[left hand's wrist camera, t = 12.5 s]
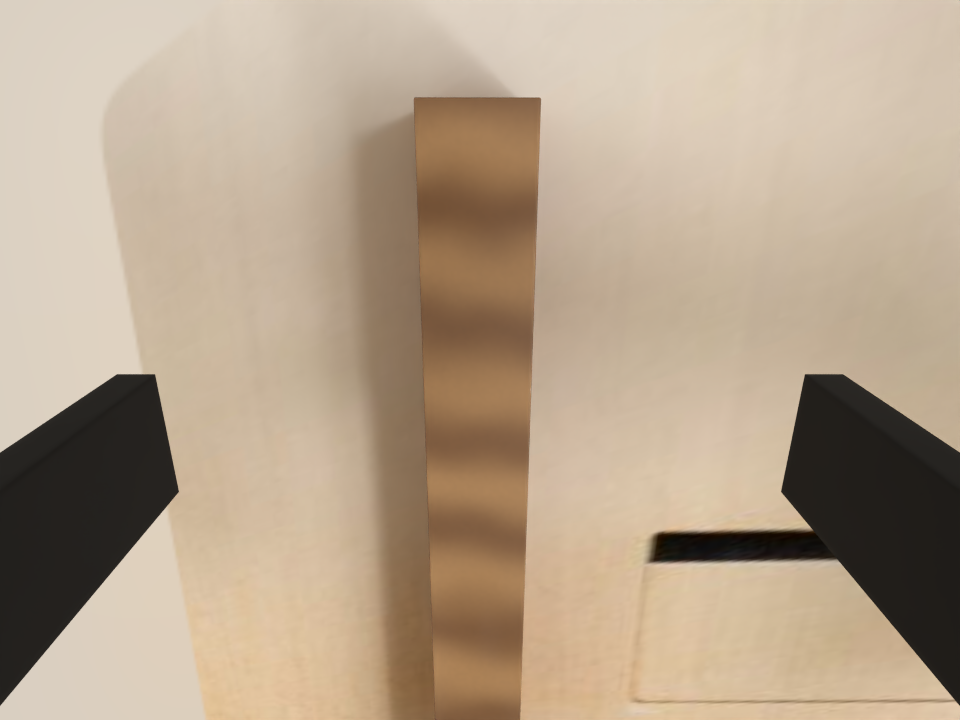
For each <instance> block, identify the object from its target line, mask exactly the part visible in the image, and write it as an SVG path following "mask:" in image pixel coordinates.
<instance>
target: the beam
mask: <svg viewBox="0 0 960 720" xmlns="http://www.w3.org/2000/svg"><path fill="white" fill-rule="evenodd" d="M540 112H541V98H444V97H415V98H414V118H415V147H416V176H417V205H418V234H419V263H420V292H421V321H422V350H423V379H424V408H425V438H426V467H427V496H428V525H429V554H430V583H431V612H432V641H433V670H434V699H435V720H520V704H521V675H522V645H523V615H524V586H525V556H526V527H527V497H528V467H529V438H530V408H531V378H532V349H533V319H534V290H535V260H536V230H537V201H538V171H539V141H540Z"/></svg>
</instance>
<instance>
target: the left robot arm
mask: <svg viewBox="0 0 960 720" xmlns="http://www.w3.org/2000/svg"><path fill="white" fill-rule="evenodd" d="M178 492H179V490H178V485H177V480H176V475H175V470H174V466H173V461H172V456H171V451H170V446H169V441H168V436H167V431H166V426H165V421H164V416H163V411H162V407H161V402H160V397H159V392H158V387H157V382H156V377H155V374H117V375H115V376H114V377H113V378H111V379H109V380H108V381H107V382H105V383H104V384H102V385H101V386H99V387H98V388H96V389H95V390H93V391H92V392H90V393H89V394H87V395H86V396H84V397H83V398H81V399H80V400H78V401H77V402H75V403H74V404H72V405H71V406H69V407H68V408H66V409H65V410H63V411H62V412H60V413H59V414H57V415H56V416H54V417H53V418H51V419H50V420H48V421H47V422H45V423H44V424H42V425H41V426H39V427H38V428H36V429H35V430H33V431H32V432H30V433H29V434H27V435H26V436H24V437H23V438H21V439H20V440H18V441H17V442H15V443H14V444H12V445H11V446H9V447H8V448H7V449H5V450H4V451H2V452H1V453H0V705H1V704H2V703H3V702H4V700H5V699H6V698H7V697H8V696H9V694H10V693H11V692H12V691H13V690H14V688H15V687H16V686H17V685H18V684H19V682H20V681H21V680H22V679H23V678H24V677H25V675H26V674H27V673H28V672H29V671H30V669H31V668H32V667H33V666H34V665H35V663H36V662H37V661H38V660H39V659H40V657H41V656H42V655H43V654H44V653H45V651H46V650H47V649H48V648H49V647H50V645H51V644H52V643H53V642H54V641H55V639H56V638H57V637H58V636H59V635H60V633H61V632H62V631H63V630H64V629H65V627H66V626H67V625H68V624H69V623H70V621H71V620H72V619H73V618H74V617H75V615H76V614H77V613H78V612H79V611H80V609H81V608H82V607H83V606H84V605H85V604H86V602H87V601H88V600H89V599H90V598H91V596H92V595H93V594H94V593H95V592H96V590H97V589H98V588H99V587H100V586H101V584H102V583H103V582H104V581H105V579H106V578H107V577H108V576H109V575H110V574H111V572H112V571H113V570H114V569H115V568H116V566H117V565H118V564H119V563H120V562H121V560H122V559H123V558H124V557H125V556H126V554H127V553H128V552H129V551H130V550H131V548H132V547H133V546H134V545H135V544H136V542H137V541H138V540H139V539H140V538H141V536H142V535H143V534H144V533H145V532H146V530H147V529H148V528H149V527H150V526H151V524H152V523H153V522H154V521H155V520H156V518H157V517H158V516H159V515H160V514H161V513H162V511H163V510H164V509H165V508H166V507H167V505H168V504H169V503H170V502H171V501H172V499H173V498H174V497H175V496H176V495H177V493H178ZM781 492H782V493H783V495H784V496H785V497H786V498H787V499H788V501H789V502H790V503H791V504H792V505H793V507H794V508H795V509H796V510H797V511H798V513H799V514H800V515H801V516H802V517H803V519H804V520H805V521H806V522H807V523H808V525H809V526H810V527H811V528H812V529H813V530H814V532H815V533H816V534H817V535H818V536H819V538H820V539H821V540H822V541H823V542H824V544H825V545H826V546H827V547H828V548H829V550H830V551H831V552H832V553H833V554H834V556H835V557H836V558H837V559H838V560H839V562H840V563H841V564H842V565H843V566H844V568H845V569H846V570H847V571H848V572H849V574H850V575H851V576H852V577H853V578H854V580H855V581H856V582H857V583H858V584H859V586H860V587H861V588H862V589H863V590H864V592H865V593H866V594H867V595H868V596H869V598H870V599H871V600H872V601H873V602H874V604H875V605H876V606H877V607H878V608H879V609H880V611H881V612H882V613H883V614H884V615H885V617H886V618H887V619H888V620H889V621H890V623H891V624H892V625H893V626H894V627H895V629H896V630H897V631H898V632H899V633H900V635H901V636H902V637H903V638H904V639H905V641H906V642H907V643H908V644H909V645H910V647H911V648H912V649H913V650H914V651H915V653H916V654H917V655H918V656H919V657H920V659H921V660H922V661H923V662H924V663H925V665H926V666H927V667H928V668H929V669H930V671H931V672H932V673H933V674H934V675H935V677H936V678H937V679H938V680H939V681H940V683H941V684H942V685H943V686H944V687H945V689H946V690H947V691H948V692H949V693H950V694H951V696H952V697H953V698H954V699H955V700H956V702H957V703H958V704H959V705H960V453H959V452H958V451H956V450H955V449H953V448H952V447H951V446H949V445H948V444H946V443H945V442H943V441H942V440H940V439H939V438H937V437H936V436H934V435H933V434H931V433H930V432H928V431H927V430H925V429H924V428H922V427H921V426H919V425H918V424H916V423H915V422H913V421H912V420H910V419H909V418H907V417H906V416H904V415H903V414H901V413H900V412H898V411H897V410H895V409H894V408H892V407H891V406H889V405H888V404H886V403H885V402H883V401H882V400H880V399H879V398H877V397H876V396H874V395H873V394H871V393H870V392H868V391H867V390H865V389H864V388H862V387H861V386H859V385H858V384H856V383H855V382H853V381H852V380H851V379H849V378H848V377H846V376H845V375H843V374H805V377H804V382H803V387H802V392H801V397H800V402H799V407H798V411H797V416H796V421H795V426H794V431H793V436H792V441H791V446H790V451H789V456H788V461H787V466H786V470H785V475H784V480H783V485H782V490H781Z"/></svg>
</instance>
